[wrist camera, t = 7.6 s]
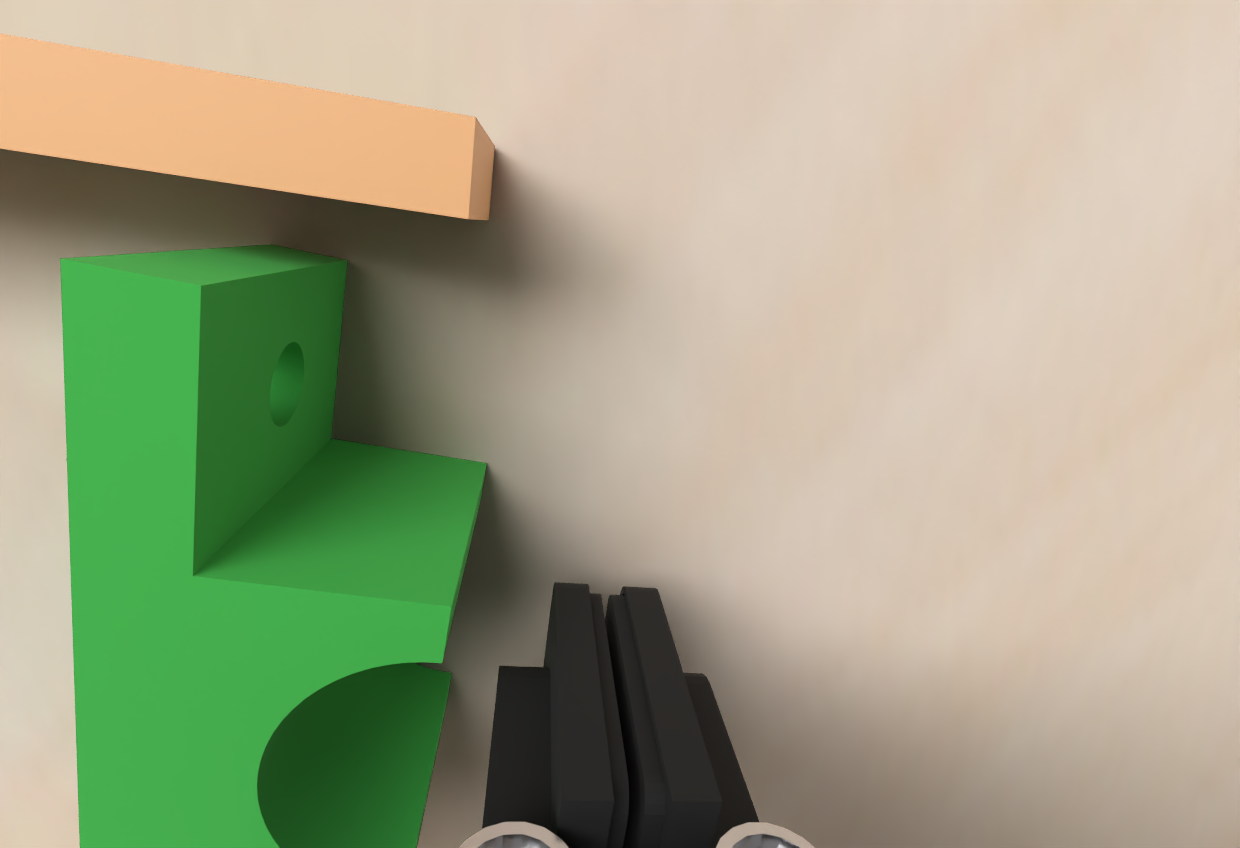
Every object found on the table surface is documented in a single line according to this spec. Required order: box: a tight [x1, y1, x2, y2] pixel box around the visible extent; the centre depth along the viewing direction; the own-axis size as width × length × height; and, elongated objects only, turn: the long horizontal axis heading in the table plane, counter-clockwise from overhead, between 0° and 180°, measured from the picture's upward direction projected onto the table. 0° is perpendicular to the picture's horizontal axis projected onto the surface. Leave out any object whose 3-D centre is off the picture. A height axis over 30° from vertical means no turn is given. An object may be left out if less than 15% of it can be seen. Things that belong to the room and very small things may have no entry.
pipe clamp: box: [60, 244, 487, 848], centre depth 9 cm, size 10×4×4 cm, turn 168°
